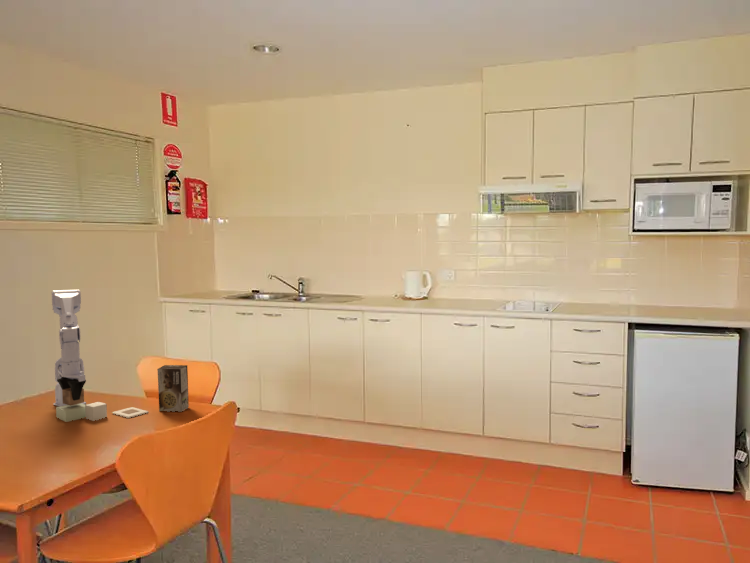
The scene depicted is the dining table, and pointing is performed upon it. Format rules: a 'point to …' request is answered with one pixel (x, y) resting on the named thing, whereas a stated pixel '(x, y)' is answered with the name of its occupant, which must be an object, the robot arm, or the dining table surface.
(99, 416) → the grey cube
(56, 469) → the dining table surface
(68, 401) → the walnut cube
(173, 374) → the coffee box
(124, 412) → the card
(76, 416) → the base block
